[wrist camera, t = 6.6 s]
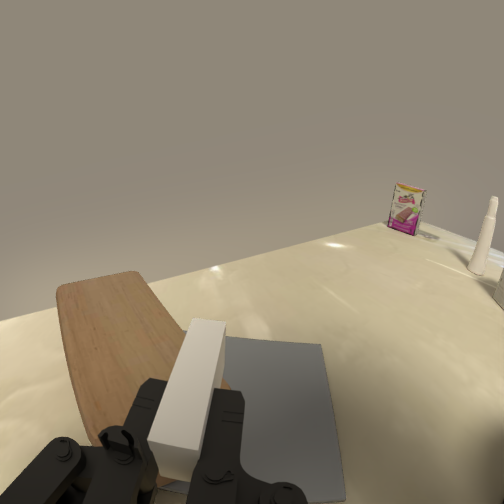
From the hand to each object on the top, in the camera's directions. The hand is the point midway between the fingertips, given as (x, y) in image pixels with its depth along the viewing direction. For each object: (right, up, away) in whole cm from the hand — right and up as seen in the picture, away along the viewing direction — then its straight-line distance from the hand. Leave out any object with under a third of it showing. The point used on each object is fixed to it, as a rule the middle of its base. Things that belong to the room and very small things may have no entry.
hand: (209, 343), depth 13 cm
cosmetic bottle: (+66, -1, +54) cm, 85 cm away
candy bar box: (+55, +12, +84) cm, 102 cm away
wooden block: (-3, -10, +3) cm, 11 cm away
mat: (-1, -11, +14) cm, 18 cm away
